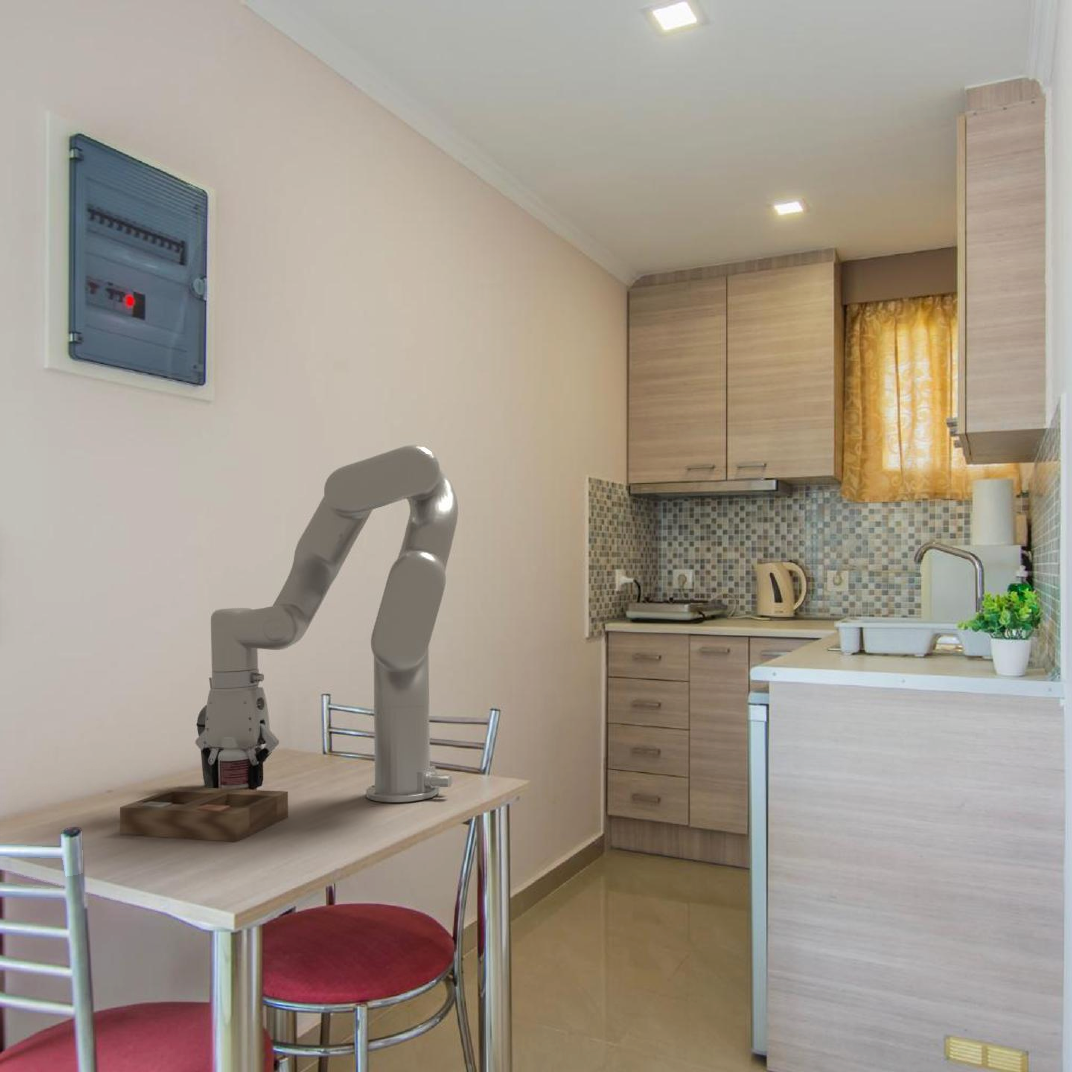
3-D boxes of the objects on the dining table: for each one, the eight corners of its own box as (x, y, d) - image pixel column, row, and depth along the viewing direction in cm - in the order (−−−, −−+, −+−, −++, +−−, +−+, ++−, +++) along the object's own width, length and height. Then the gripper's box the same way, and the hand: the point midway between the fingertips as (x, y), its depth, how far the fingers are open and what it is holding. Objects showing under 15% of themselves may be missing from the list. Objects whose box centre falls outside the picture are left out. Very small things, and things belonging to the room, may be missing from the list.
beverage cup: (230, 790, 166) (229, 679, 167) (190, 791, 167) (189, 679, 167) (243, 781, 174) (243, 674, 175) (205, 782, 174) (204, 675, 175)
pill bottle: (261, 802, 156) (260, 734, 156) (224, 808, 152) (222, 739, 153) (250, 795, 161) (249, 730, 161) (214, 801, 158) (213, 734, 158)
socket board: (288, 817, 147) (287, 789, 147) (236, 841, 133) (236, 811, 133) (179, 811, 152) (179, 784, 152) (120, 834, 138) (120, 805, 139)
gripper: (291, 677, 159) (294, 783, 158) (205, 678, 163) (207, 781, 163) (268, 683, 152) (270, 793, 151) (177, 683, 156) (180, 791, 155)
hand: (237, 786), depth 157 cm, fingers closed on pill bottle, 6 cm apart
